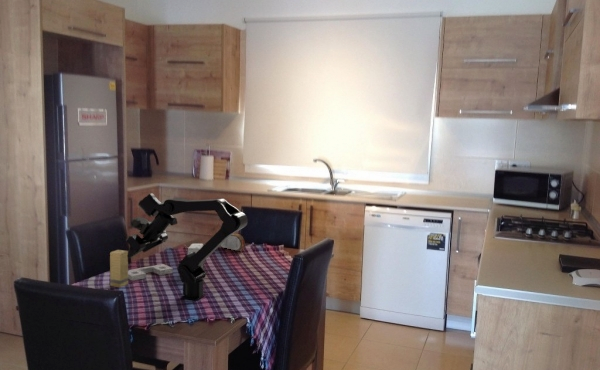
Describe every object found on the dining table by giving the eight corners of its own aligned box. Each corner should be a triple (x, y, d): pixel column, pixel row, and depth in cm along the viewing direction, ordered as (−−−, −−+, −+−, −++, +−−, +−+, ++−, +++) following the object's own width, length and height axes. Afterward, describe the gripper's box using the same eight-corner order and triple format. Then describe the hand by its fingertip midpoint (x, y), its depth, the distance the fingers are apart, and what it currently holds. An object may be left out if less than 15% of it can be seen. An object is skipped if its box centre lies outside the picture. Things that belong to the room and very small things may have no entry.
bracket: (173, 272, 220) (173, 268, 219) (132, 280, 207) (132, 275, 207) (163, 268, 225) (163, 263, 225) (122, 276, 213) (122, 270, 213)
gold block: (128, 284, 203) (127, 251, 202) (120, 287, 199) (120, 253, 197) (118, 282, 205) (117, 249, 203) (110, 285, 200) (109, 252, 199)
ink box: (191, 269, 225) (191, 242, 223) (203, 270, 225) (203, 243, 223) (187, 275, 216) (187, 247, 215) (199, 276, 216) (199, 248, 215)
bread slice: (244, 251, 259) (245, 234, 258) (240, 252, 256) (241, 235, 255) (221, 246, 267) (221, 230, 266) (217, 247, 264) (217, 231, 263)
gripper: (158, 206, 203) (136, 234, 208) (128, 213, 186) (105, 244, 190) (178, 226, 202) (155, 254, 206) (149, 236, 184) (125, 266, 189)
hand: (135, 254), depth 198 cm, fingers open, 9 cm apart
